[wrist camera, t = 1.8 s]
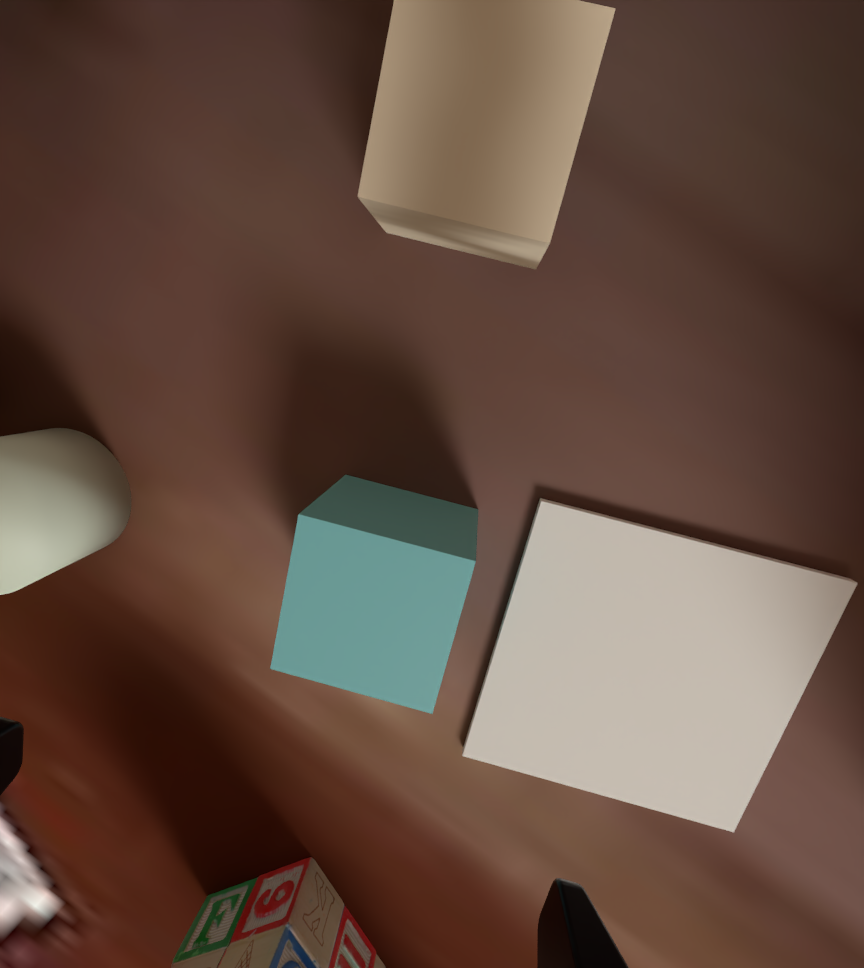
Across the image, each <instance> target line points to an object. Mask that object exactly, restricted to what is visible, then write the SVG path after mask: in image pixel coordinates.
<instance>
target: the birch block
mask: <svg viewBox="0 0 864 968" xmlns="http://www.w3.org/2000/svg"><path fill="white" fill-rule="evenodd" d="M614 13H615V8H611V7H606V6H602V5H597V4H593V3H588V2H584V1H579V0H394V3H393V9H392V14H391V19H390V25H389V30H388V36H387V41H386V46H385V52H384V57H383V62H382V68H381V73H380V79H379V84H378V89H377V95H376V100H375V105H374V111H373V116H372V122H371V127H370V132H369V138H368V143H367V148H366V154H365V159H364V164H363V170H362V175H361V181H360V186H359V191H358V198H359V199H360V201H361V202H362V203H363V204H364V205H365V207H366V208H367V209H368V210H369V212H370V213H371V214H372V215H373V217H374V218H375V219H376V220H377V222H378V223H379V224H380V225H381V227H382V228H383V229H384V230H385V232H386V233H390V234H394V235H398V236H402V237H406V238H410V239H414V240H419V241H423V242H427V243H431V244H435V245H439V246H443V247H447V248H451V249H455V250H459V251H463V252H467V253H471V254H476V255H480V256H484V257H488V258H492V259H496V260H500V261H504V262H508V263H512V264H516V265H520V266H524V267H528V268H533V269H536V268H537V266H538V264H539V263H540V261H541V259H542V257H543V255H544V253H545V251H546V250H547V248H548V246H549V244H550V241H551V238H552V234H553V230H554V227H555V223H556V220H557V216H558V213H559V209H560V205H561V202H562V198H563V195H564V191H565V188H566V184H567V180H568V177H569V173H570V170H571V166H572V163H573V159H574V155H575V152H576V148H577V145H578V141H579V138H580V134H581V130H582V127H583V123H584V120H585V116H586V113H587V109H588V105H589V102H590V98H591V95H592V91H593V88H594V84H595V80H596V77H597V73H598V70H599V66H600V63H601V59H602V55H603V52H604V48H605V45H606V41H607V38H608V34H609V30H610V27H611V23H612V20H613V16H614Z"/></svg>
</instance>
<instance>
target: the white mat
mask: <svg viewBox="0 0 864 968" xmlns="http://www.w3.org/2000/svg"><path fill="white" fill-rule="evenodd" d="M857 584H858V583H857V582H855V581H853V580H852V579H850V578H847V577H843V576H839V575H835V574H831V573H827V572H824V571H820V570H816V569H812V568H808V567H804V566H800V565H797V564H793V563H789V562H785V561H781V560H777V559H773V558H770V557H766V556H762V555H758V554H754V553H750V552H747V551H743V550H739V549H735V548H731V547H727V546H723V545H720V544H716V543H712V542H708V541H704V540H700V539H696V538H693V537H689V536H685V535H681V534H677V533H673V532H669V531H666V530H662V529H658V528H654V527H650V526H646V525H643V524H639V523H635V522H631V521H627V520H623V519H619V518H616V517H612V516H608V515H604V514H600V513H596V512H592V511H589V510H585V509H581V508H577V507H573V506H569V505H565V504H562V503H558V502H554V501H550V500H546V499H542V498H540V500H539V503H538V506H537V510H536V513H535V516H534V519H533V523H532V526H531V529H530V532H529V536H528V539H527V542H526V545H525V549H524V552H523V555H522V558H521V562H520V565H519V568H518V571H517V574H516V578H515V581H514V584H513V587H512V591H511V594H510V597H509V600H508V604H507V607H506V610H505V613H504V617H503V620H502V623H501V626H500V630H499V633H498V636H497V639H496V643H495V646H494V649H493V652H492V656H491V659H490V662H489V665H488V668H487V672H486V675H485V678H484V681H483V685H482V688H481V691H480V694H479V698H478V701H477V704H476V707H475V711H474V714H473V717H472V720H471V724H470V727H469V730H468V733H467V737H466V740H465V743H464V746H463V754H462V756H464V757H468V758H472V759H475V760H479V761H482V762H486V763H489V764H493V765H496V766H500V767H504V768H507V769H511V770H514V771H518V772H521V773H525V774H528V775H532V776H535V777H539V778H543V779H546V780H550V781H553V782H557V783H560V784H564V785H567V786H571V787H575V788H578V789H582V790H585V791H589V792H592V793H596V794H599V795H603V796H607V797H610V798H614V799H617V800H621V801H624V802H628V803H631V804H635V805H638V806H642V807H646V808H649V809H653V810H656V811H660V812H663V813H667V814H670V815H674V816H678V817H681V818H685V819H688V820H692V821H695V822H699V823H702V824H706V825H710V826H713V827H717V828H720V829H724V830H727V831H731V832H734V831H735V829H736V827H737V825H738V823H739V821H740V819H741V817H742V815H743V813H744V811H745V809H746V807H747V805H748V803H749V801H750V799H751V796H752V794H753V792H754V790H755V788H756V786H757V784H758V782H759V780H760V778H761V776H762V774H763V772H764V770H765V768H766V766H767V764H768V762H769V760H770V758H771V756H772V754H773V752H774V750H775V748H776V746H777V744H778V742H779V740H780V738H781V736H782V734H783V732H784V730H785V728H786V726H787V724H788V722H789V720H790V718H791V716H792V714H793V712H794V710H795V708H796V706H797V704H798V702H799V700H800V698H801V696H802V694H803V692H804V690H805V688H806V686H807V684H808V682H809V680H810V678H811V676H812V674H813V672H814V670H815V668H816V666H817V664H818V662H819V660H820V658H821V656H822V654H823V652H824V650H825V648H826V646H827V644H828V642H829V640H830V638H831V636H832V634H833V632H834V630H835V628H836V626H837V624H838V622H839V620H840V618H841V616H842V614H843V612H844V610H845V608H846V606H847V604H848V602H849V600H850V598H851V596H852V594H853V592H854V590H855V588H856V586H857Z"/></svg>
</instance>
